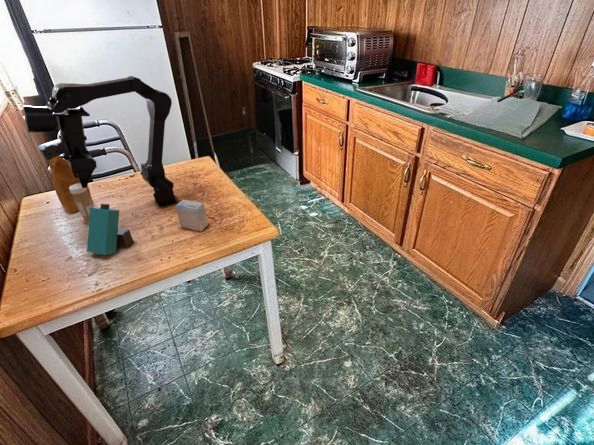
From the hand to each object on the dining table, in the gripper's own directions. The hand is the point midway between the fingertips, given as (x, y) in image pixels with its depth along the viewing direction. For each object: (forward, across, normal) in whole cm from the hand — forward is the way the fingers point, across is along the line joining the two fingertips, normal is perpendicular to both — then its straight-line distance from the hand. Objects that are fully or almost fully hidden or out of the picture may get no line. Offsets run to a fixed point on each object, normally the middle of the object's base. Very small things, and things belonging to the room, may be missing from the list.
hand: (80, 182), depth 102 cm
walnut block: (+16, +14, +5) cm, 22 cm away
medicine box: (+11, +23, +26) cm, 37 cm away
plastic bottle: (+16, +16, +2) cm, 23 cm away
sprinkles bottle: (+16, -6, +3) cm, 17 cm away
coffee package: (+16, -21, +2) cm, 27 cm away
